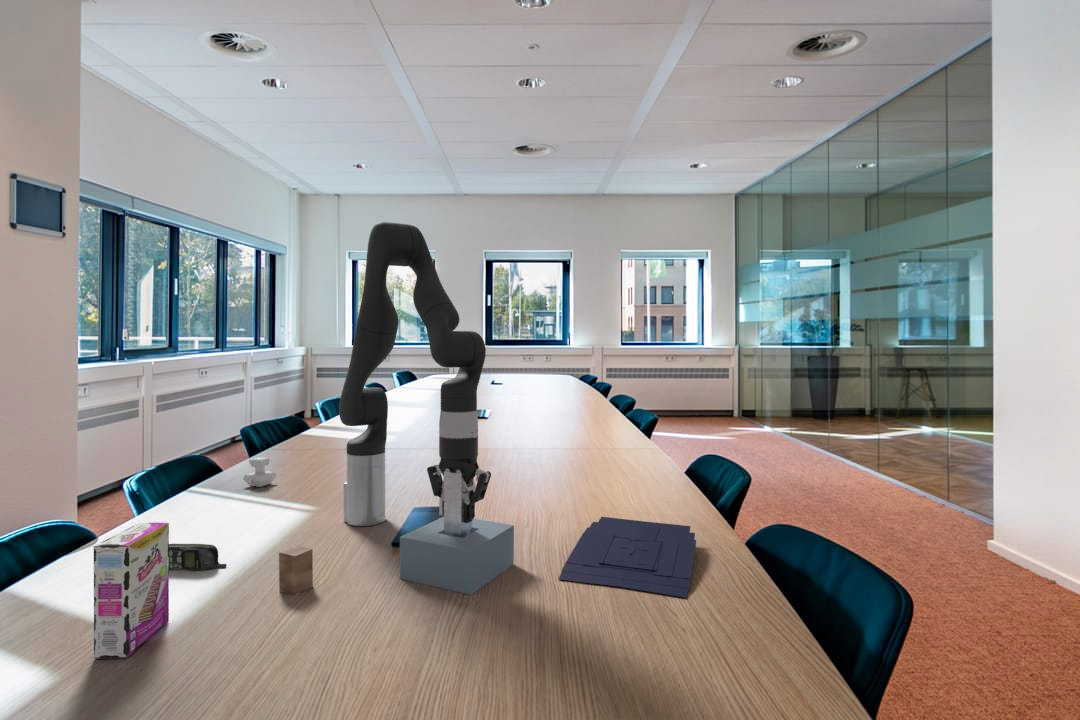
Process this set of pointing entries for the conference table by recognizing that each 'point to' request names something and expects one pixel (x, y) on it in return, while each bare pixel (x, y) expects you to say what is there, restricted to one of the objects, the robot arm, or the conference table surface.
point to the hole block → (457, 555)
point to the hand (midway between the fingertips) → (458, 519)
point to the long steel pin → (454, 506)
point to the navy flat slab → (634, 556)
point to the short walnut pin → (295, 569)
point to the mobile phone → (193, 557)
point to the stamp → (259, 473)
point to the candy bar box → (130, 589)
